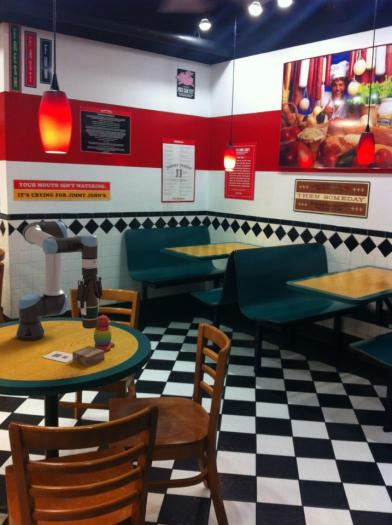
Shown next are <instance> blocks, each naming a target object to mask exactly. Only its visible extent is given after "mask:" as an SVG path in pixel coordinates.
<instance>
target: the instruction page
mask: <svg viewBox="0 0 392 525" xmlns="http://www.w3.org/2000/svg"><path fill="white" fill-rule="evenodd" d="M42 358H43V359H48V360H52V361H57V362H60V363H64V364H68V363H70V362H72V361H73V353H68V352H63V351H60V350H59V351H58V350H54V351H52V352H51V353H48V354H46V355H43V356H42Z"/></svg>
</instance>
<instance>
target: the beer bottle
mask: <svg viewBox="0 0 392 525" xmlns="http://www.w3.org/2000/svg"><path fill="white" fill-rule="evenodd" d="M85 302H86V315H83V314H81V321H82V323H81V324H82V325H81V326H82V328H84V329H86V330H89V329H91V330H92V329H95V328H96V327H98V317H99V311H98V301H97V298H96V297H95V295H94V287H93V279H92V282H91V284H90V287H89V289H88V291H87V295H86V298H85Z"/></svg>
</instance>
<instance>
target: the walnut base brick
mask: <svg viewBox="0 0 392 525" xmlns="http://www.w3.org/2000/svg"><path fill="white" fill-rule="evenodd" d="M72 354H73V360H72V362H74V363H77V364H80V365H83V366H86V367H90V366H93V365H96V364H99V363H101V362H103V361H105V351H103V350H100V349H97V348H94V346H90V345H88V346H85V347H82V348H80V349H76V350H74V351H72Z"/></svg>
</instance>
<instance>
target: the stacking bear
mask: <svg viewBox="0 0 392 525" xmlns="http://www.w3.org/2000/svg"><path fill="white" fill-rule="evenodd" d="M111 322H112V321H111V320H110V318H109V317H108V316H107V315H105V314H102V315H100V316H99V315H98V327H96V328H94V331H93V332H94V333H93V340H94V346H93V347H94V348H97V349H100V350H103V351H104V353H105V352H110V351H111V349H112V348H114V347H115V346H116V344H115V343H114V342H112V338H113V337H112V330H111V327H110V325H111Z"/></svg>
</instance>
